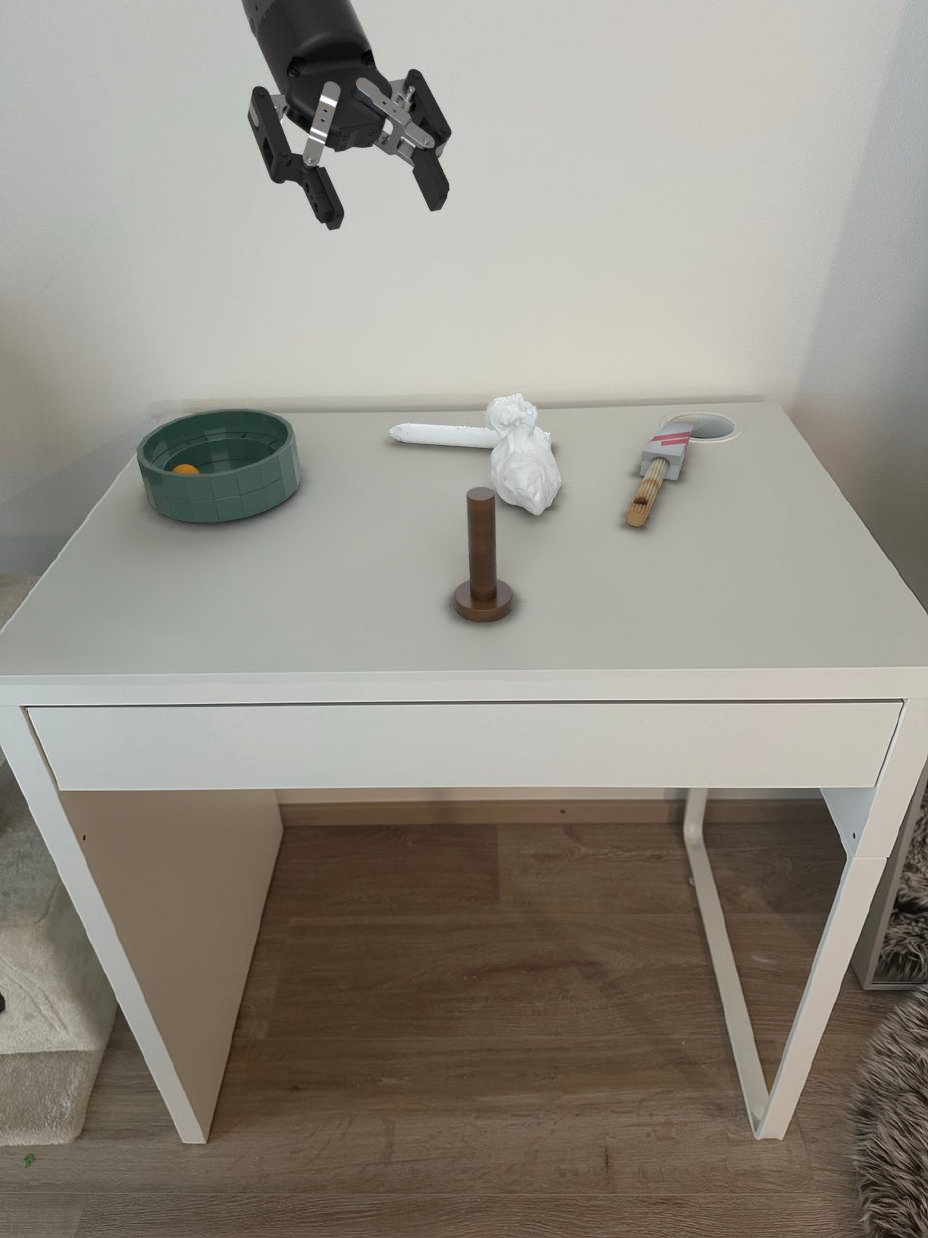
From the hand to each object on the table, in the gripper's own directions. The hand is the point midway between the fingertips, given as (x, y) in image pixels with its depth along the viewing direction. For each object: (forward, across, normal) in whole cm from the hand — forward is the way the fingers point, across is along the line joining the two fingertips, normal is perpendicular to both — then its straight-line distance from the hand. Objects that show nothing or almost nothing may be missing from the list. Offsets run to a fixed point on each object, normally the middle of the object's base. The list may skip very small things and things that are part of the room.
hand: (390, 213), depth 68 cm
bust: (+19, +13, +22) cm, 32 cm away
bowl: (+5, -10, +35) cm, 37 cm away
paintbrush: (+23, +26, +18) cm, 39 cm away
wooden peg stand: (+28, 0, +12) cm, 31 cm away
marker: (+10, +15, +31) cm, 36 cm away
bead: (+4, -14, +34) cm, 37 cm away
